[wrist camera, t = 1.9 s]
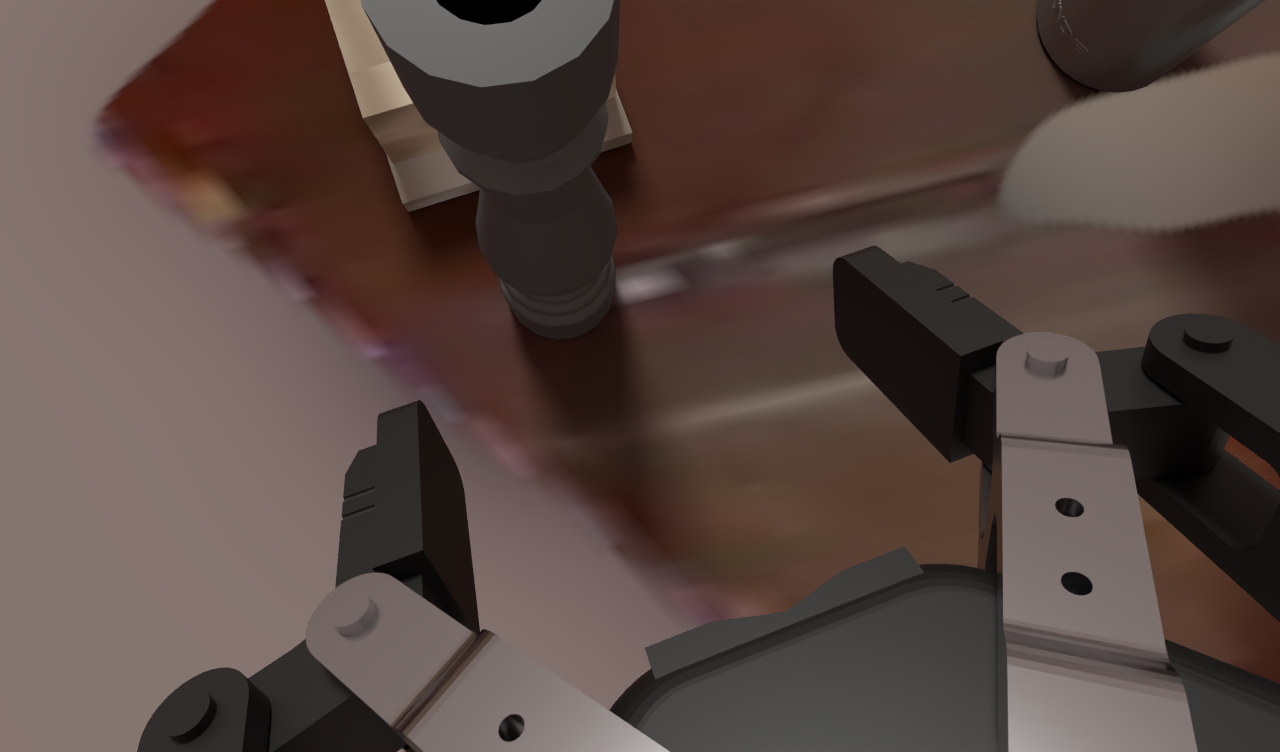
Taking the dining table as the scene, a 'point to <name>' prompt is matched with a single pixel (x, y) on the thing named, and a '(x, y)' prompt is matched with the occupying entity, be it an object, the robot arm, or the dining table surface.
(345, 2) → the socket
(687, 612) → the dining table surface
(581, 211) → the candle holder
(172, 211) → the dining table surface
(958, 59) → the dining table surface
